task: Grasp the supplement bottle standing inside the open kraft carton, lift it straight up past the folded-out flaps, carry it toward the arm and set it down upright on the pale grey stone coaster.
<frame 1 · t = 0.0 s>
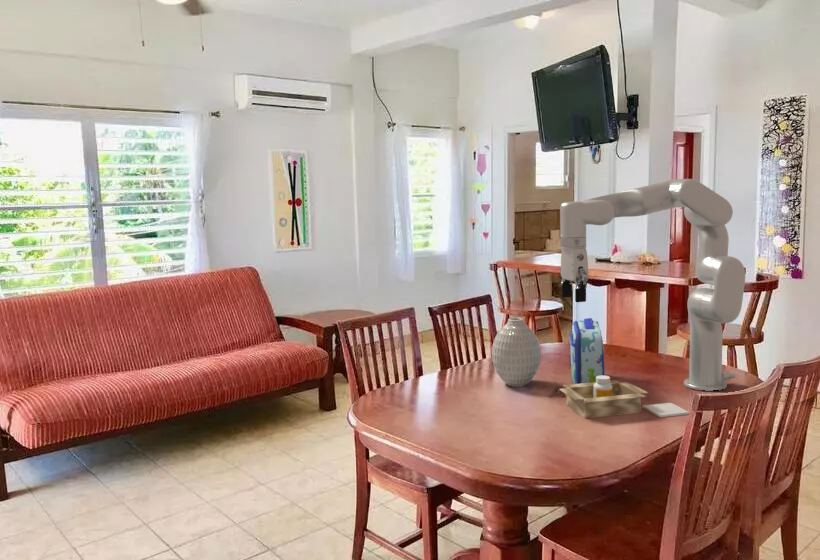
hand: (573, 299, 203), 31 cm above the table, fingers open, 9 cm apart
vase: (516, 384, 226), on the table
carton: (602, 408, 198), on the table
coaster: (665, 410, 194), on the table
lunch box: (586, 384, 223), on the table
supplement bottle: (602, 409, 198), resting in carton
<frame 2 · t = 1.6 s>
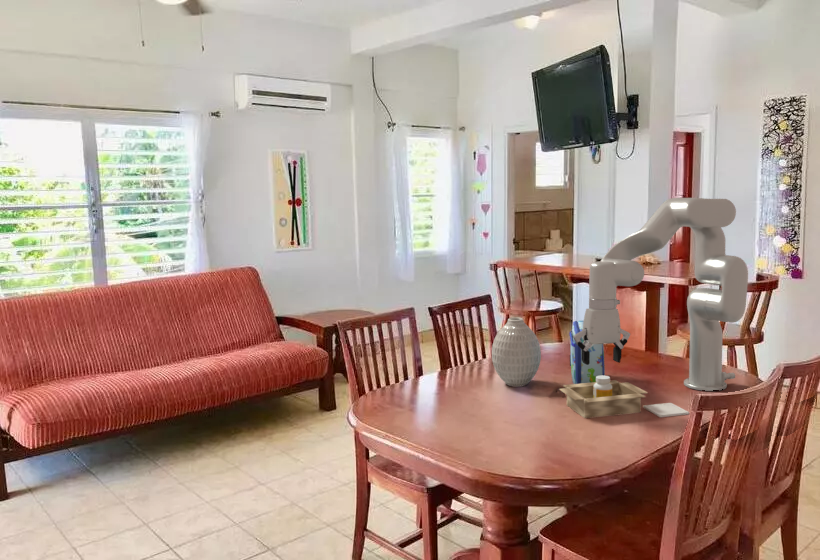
hand: (601, 362, 195), 14 cm above the table, fingers open, 9 cm apart
nothing on the table moved.
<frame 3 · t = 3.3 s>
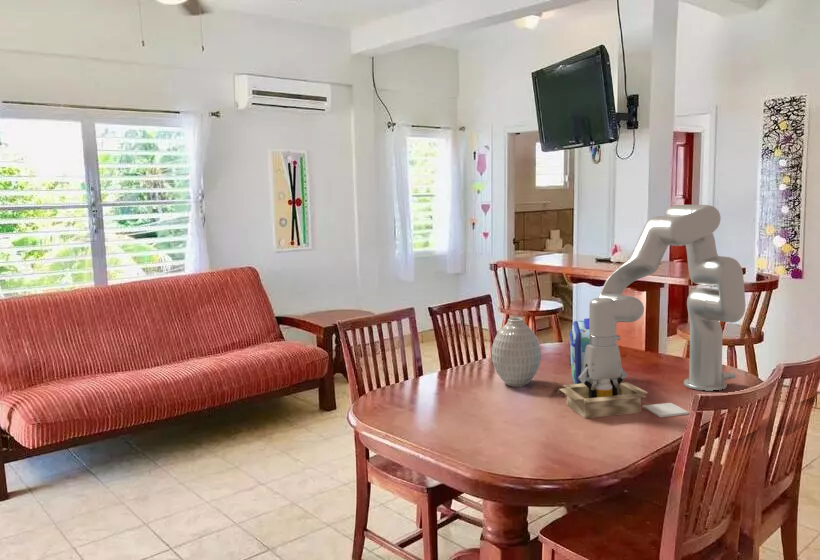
hand: (602, 400, 197), 3 cm above the table, fingers closed on supplement bottle, 5 cm apart
supplement bottle: (602, 409, 198), resting in carton, touching gripper
everything else where it was.
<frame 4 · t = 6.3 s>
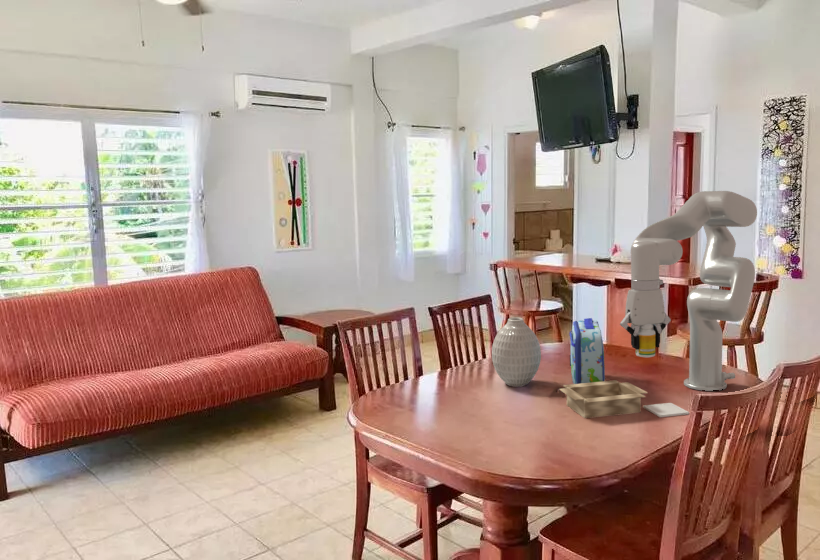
hand: (645, 346, 193), 19 cm above the table, fingers closed on supplement bottle, 5 cm apart
supplement bottle: (645, 355, 193), point 16 cm above the table, touching gripper
everything else where it was.
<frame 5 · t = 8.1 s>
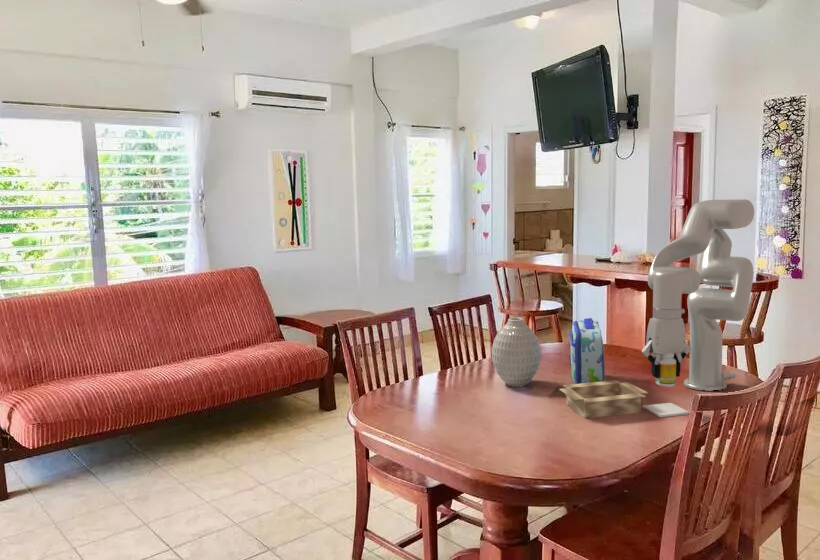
hand: (665, 375, 192), 10 cm above the table, fingers closed on supplement bottle, 5 cm apart
supplement bottle: (665, 384, 192), point 8 cm above the table, touching gripper
everything else where it was.
when the fingers open (4 cm above the table, at t = 9.5 s): supplement bottle drops 1 cm, resting on coaster.
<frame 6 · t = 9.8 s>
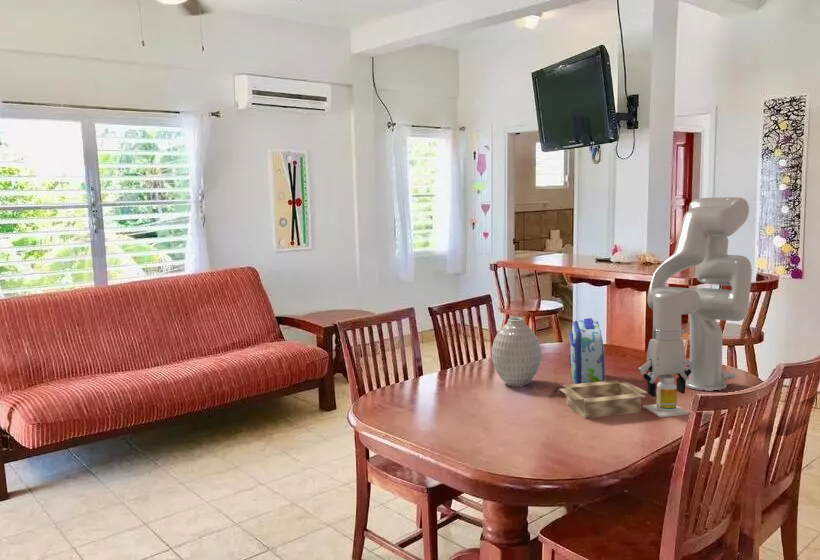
hand: (666, 393, 193), 5 cm above the table, fingers open, 8 cm apart
supplement bottle: (666, 409, 194), resting on coaster
everything else where it was.
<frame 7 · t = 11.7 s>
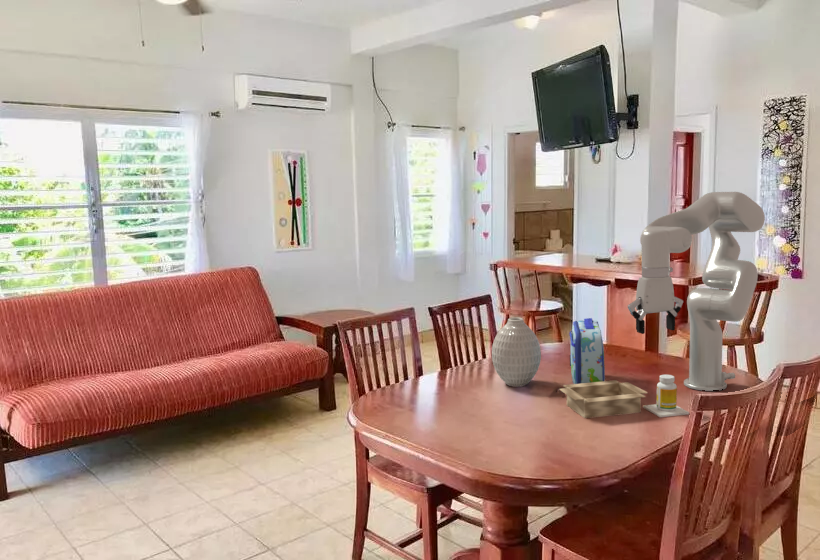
hand: (655, 331, 195), 23 cm above the table, fingers open, 9 cm apart
nothing on the table moved.
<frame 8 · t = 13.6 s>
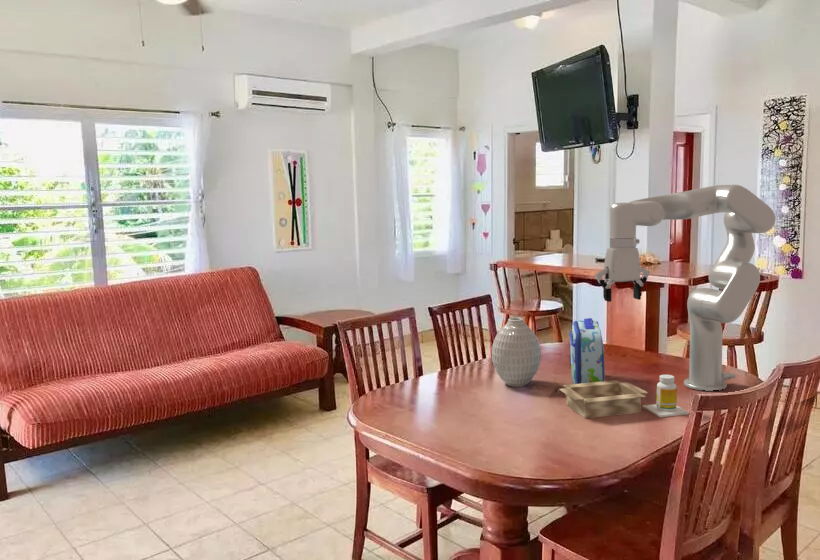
hand: (622, 300, 204), 30 cm above the table, fingers open, 9 cm apart
nothing on the table moved.
at the end: supplement bottle inside the target area on the coaster (0.3 cm from its centre), point 0.4 cm above the coaster's base; supplement bottle tilted 0°; the gripper is holding nothing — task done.
